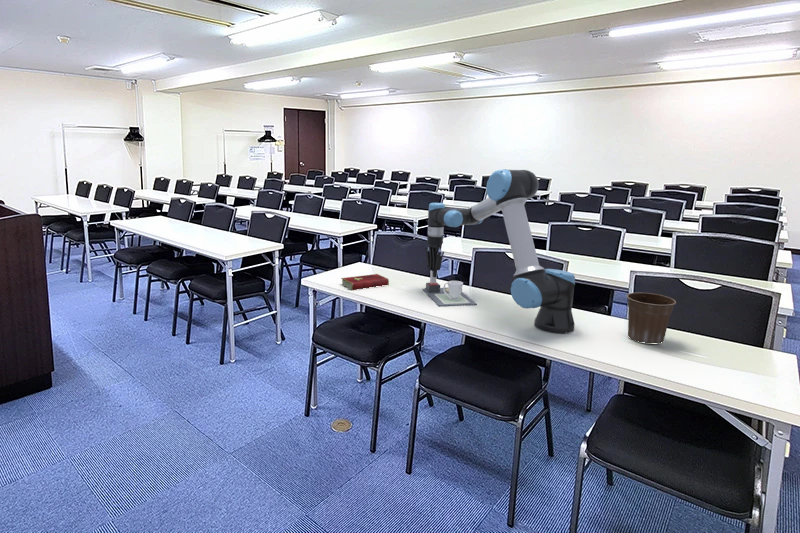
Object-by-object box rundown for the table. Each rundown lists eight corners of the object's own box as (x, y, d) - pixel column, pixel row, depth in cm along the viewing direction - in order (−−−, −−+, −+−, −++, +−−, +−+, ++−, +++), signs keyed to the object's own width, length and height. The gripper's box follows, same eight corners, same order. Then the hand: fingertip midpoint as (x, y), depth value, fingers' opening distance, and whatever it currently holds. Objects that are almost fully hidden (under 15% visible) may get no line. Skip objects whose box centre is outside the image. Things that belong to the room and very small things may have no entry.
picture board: (476, 305, 216) (477, 303, 216) (438, 306, 212) (438, 304, 212) (456, 288, 243) (456, 286, 243) (422, 289, 239) (422, 288, 239)
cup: (456, 302, 217) (457, 285, 215) (438, 297, 223) (439, 281, 221) (465, 299, 222) (466, 282, 220) (447, 294, 228) (448, 278, 226)
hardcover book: (388, 286, 245) (388, 278, 244) (351, 291, 234) (351, 283, 233) (377, 281, 255) (377, 273, 254) (341, 285, 244) (341, 277, 243)
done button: (437, 290, 233) (437, 284, 233) (430, 290, 233) (430, 284, 232) (435, 288, 237) (435, 282, 236) (428, 288, 236) (428, 282, 235)
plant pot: (625, 344, 175) (631, 301, 171) (617, 329, 190) (623, 290, 186) (674, 349, 171) (681, 306, 167) (663, 334, 186) (669, 294, 182)
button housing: (439, 292, 233) (440, 285, 232) (428, 292, 232) (429, 285, 231) (436, 289, 238) (436, 282, 237) (425, 289, 237) (426, 282, 236)
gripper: (421, 233, 232) (419, 280, 238) (436, 238, 221) (434, 287, 227) (434, 233, 236) (432, 279, 241) (449, 237, 225) (447, 285, 230)
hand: (433, 283), depth 234 cm, fingers closed
